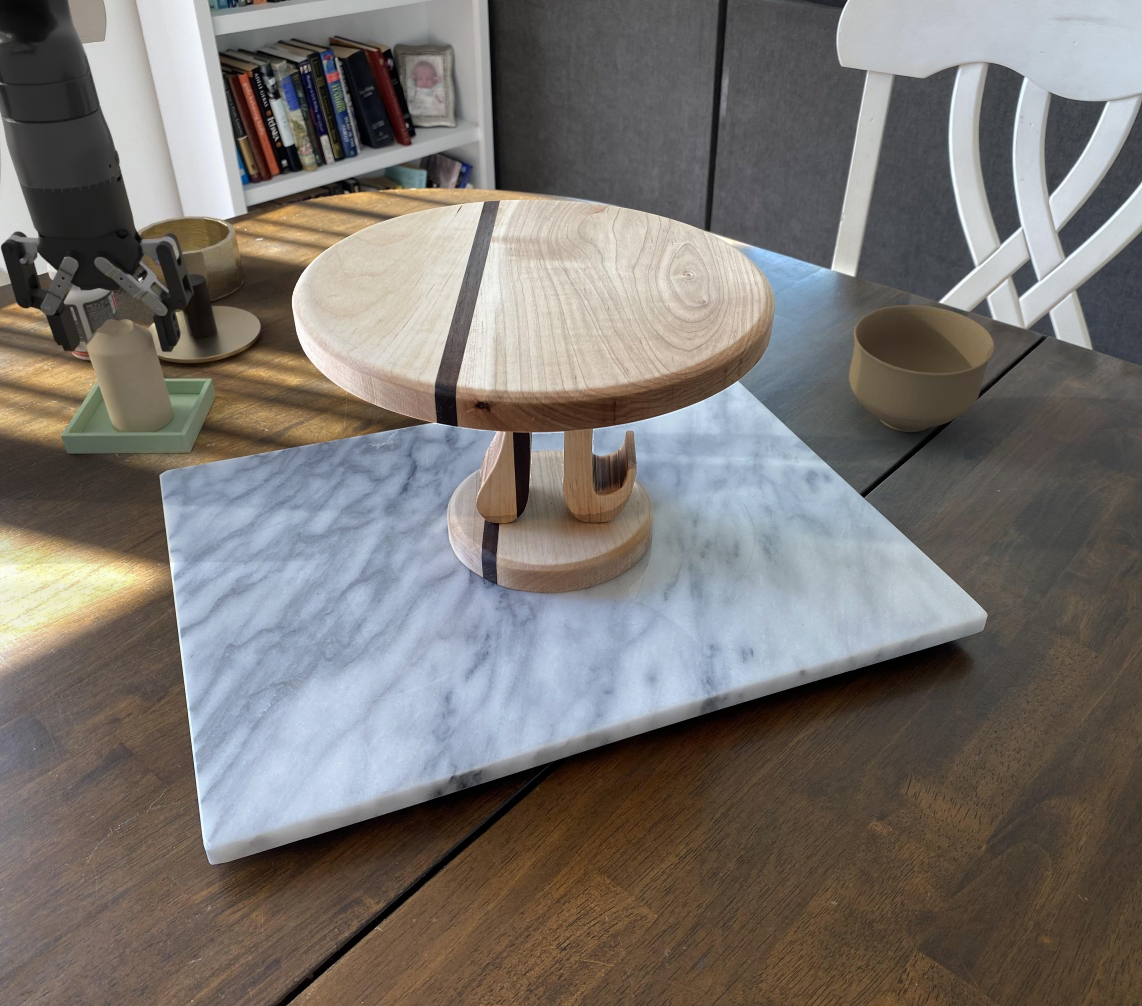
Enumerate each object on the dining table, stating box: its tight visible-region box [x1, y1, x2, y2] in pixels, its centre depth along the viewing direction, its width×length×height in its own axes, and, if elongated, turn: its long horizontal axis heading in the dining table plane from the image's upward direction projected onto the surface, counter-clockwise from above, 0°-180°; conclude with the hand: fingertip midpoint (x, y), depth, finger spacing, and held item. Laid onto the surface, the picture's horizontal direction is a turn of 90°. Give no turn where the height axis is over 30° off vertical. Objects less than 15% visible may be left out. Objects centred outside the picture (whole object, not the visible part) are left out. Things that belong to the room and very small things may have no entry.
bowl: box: [848, 304, 996, 433], centre depth 91 cm, size 13×13×10 cm
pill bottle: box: [46, 262, 122, 361], centre depth 97 cm, size 6×6×10 cm
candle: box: [86, 318, 173, 433], centre depth 86 cm, size 6×6×10 cm
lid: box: [146, 274, 262, 364], centre depth 100 cm, size 12×12×7 cm
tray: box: [60, 378, 217, 455], centre depth 89 cm, size 11×10×2 cm
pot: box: [137, 215, 245, 303], centre depth 111 cm, size 11×11×6 cm
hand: (121, 347), depth 85 cm, fingers open, 8 cm apart
